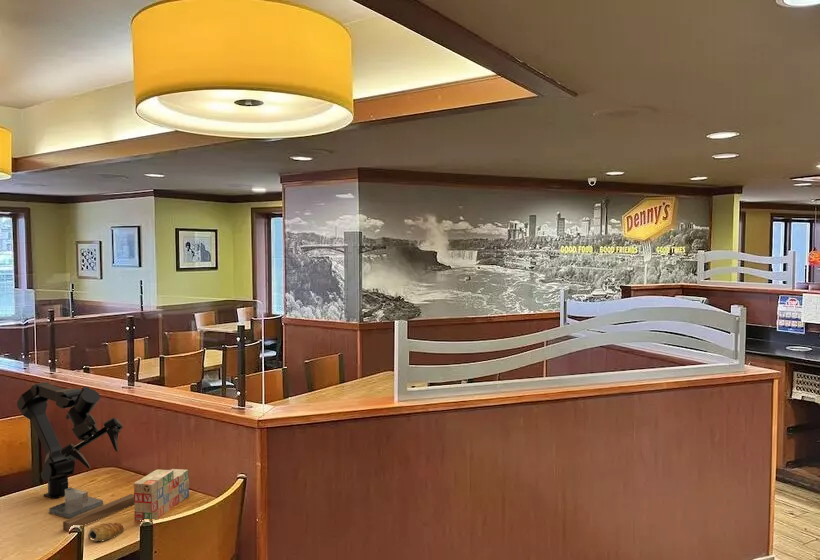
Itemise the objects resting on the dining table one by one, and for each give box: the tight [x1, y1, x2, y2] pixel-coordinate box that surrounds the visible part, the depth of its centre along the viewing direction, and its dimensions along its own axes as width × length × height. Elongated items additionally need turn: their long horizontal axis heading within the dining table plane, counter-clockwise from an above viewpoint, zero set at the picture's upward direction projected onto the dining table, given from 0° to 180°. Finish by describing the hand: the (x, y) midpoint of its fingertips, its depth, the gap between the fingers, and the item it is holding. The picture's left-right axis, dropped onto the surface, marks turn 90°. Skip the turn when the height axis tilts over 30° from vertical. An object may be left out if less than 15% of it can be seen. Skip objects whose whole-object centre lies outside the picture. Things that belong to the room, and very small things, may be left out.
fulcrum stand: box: [48, 487, 104, 519], centre depth 203 cm, size 10×12×6 cm
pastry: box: [87, 522, 125, 542], centre depth 184 cm, size 9×7×4 cm
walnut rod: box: [62, 493, 135, 533], centre depth 198 cm, size 3×24×3 cm, turn 153°
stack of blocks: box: [133, 468, 190, 522], centre depth 204 cm, size 21×6×12 cm, turn 169°
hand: (103, 459), depth 200 cm, fingers open, 9 cm apart
